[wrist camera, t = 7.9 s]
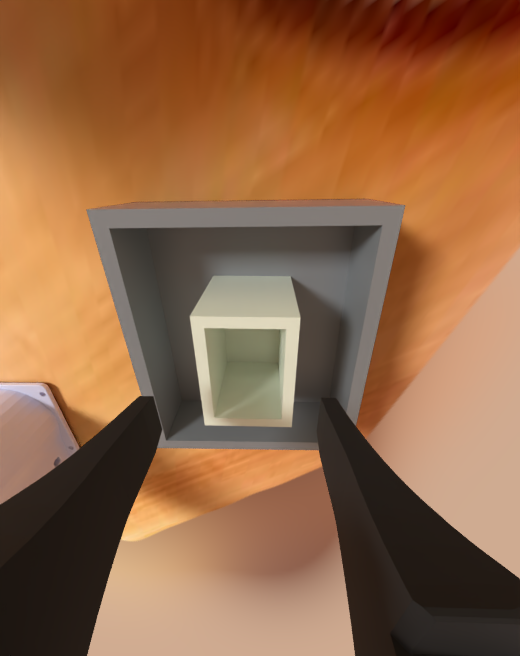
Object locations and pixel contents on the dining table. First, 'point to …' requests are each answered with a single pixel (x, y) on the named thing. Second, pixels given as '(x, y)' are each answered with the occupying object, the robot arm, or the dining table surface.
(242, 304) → the sage crate
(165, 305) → the charcoal crate
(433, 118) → the dining table surface
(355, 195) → the dining table surface
